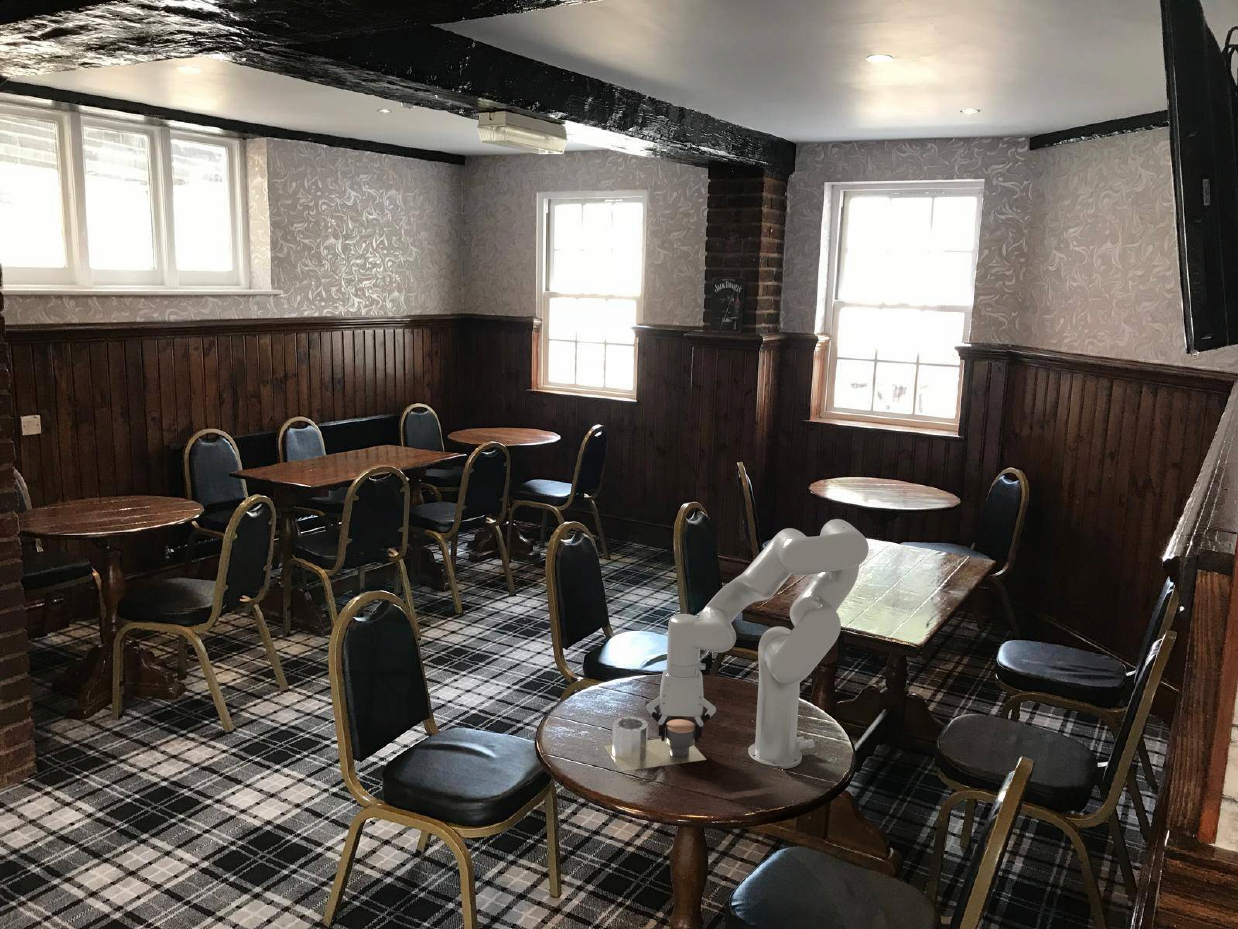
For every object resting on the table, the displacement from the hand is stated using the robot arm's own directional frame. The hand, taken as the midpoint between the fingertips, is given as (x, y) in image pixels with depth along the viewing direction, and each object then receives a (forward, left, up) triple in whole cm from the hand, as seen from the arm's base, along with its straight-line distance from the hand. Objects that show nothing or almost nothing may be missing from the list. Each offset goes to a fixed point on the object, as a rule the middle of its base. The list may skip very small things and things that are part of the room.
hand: (679, 739), depth 232 cm
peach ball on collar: (0, 0, -4) cm, 4 cm away
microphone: (-5, -21, -5) cm, 22 cm away
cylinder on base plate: (+5, -2, -5) cm, 8 cm away
